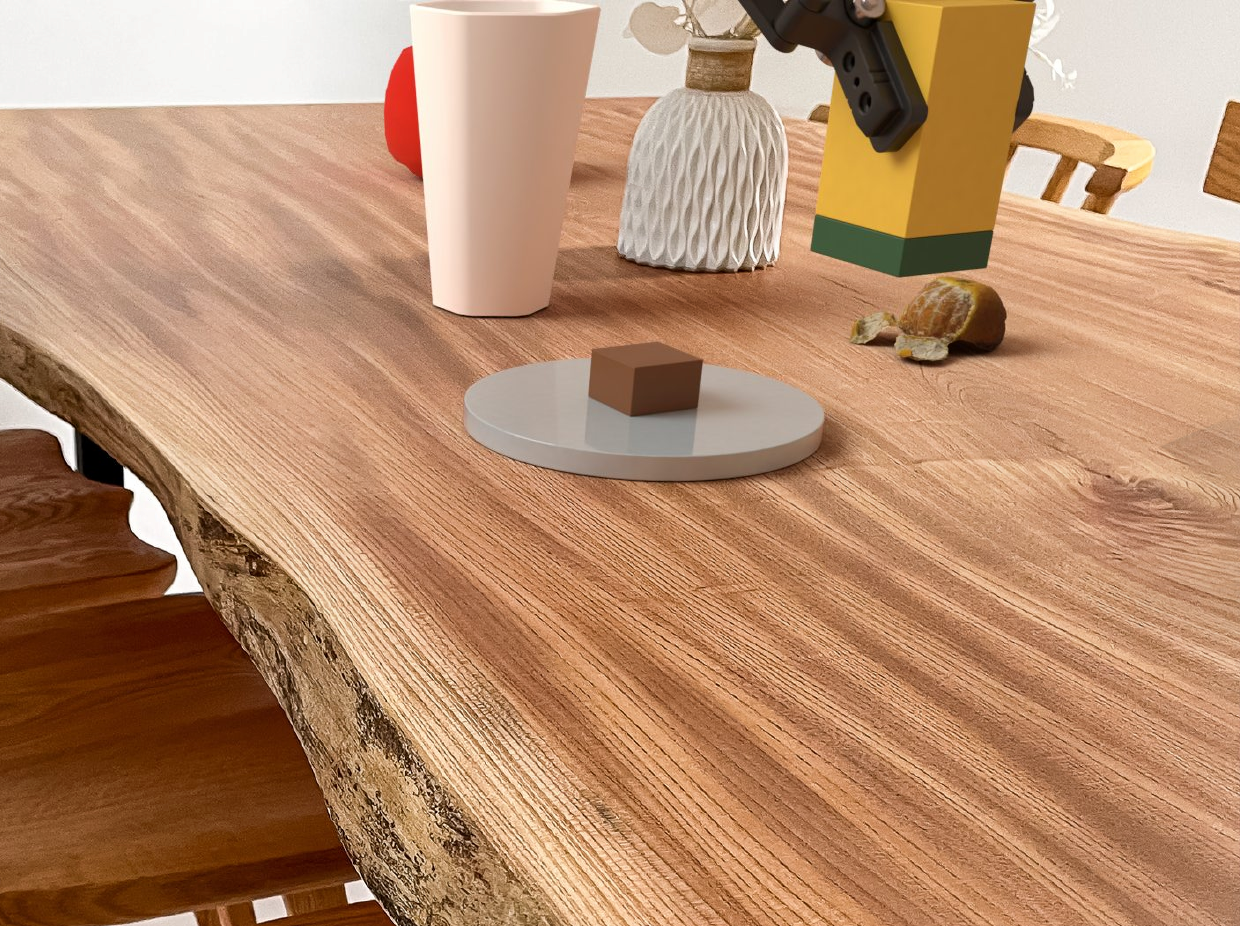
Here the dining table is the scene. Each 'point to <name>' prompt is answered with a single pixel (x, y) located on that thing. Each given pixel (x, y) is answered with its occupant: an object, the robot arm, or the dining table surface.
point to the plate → (643, 425)
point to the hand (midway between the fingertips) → (957, 131)
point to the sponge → (929, 145)
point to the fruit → (941, 319)
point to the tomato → (403, 114)
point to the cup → (498, 143)
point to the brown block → (645, 378)
